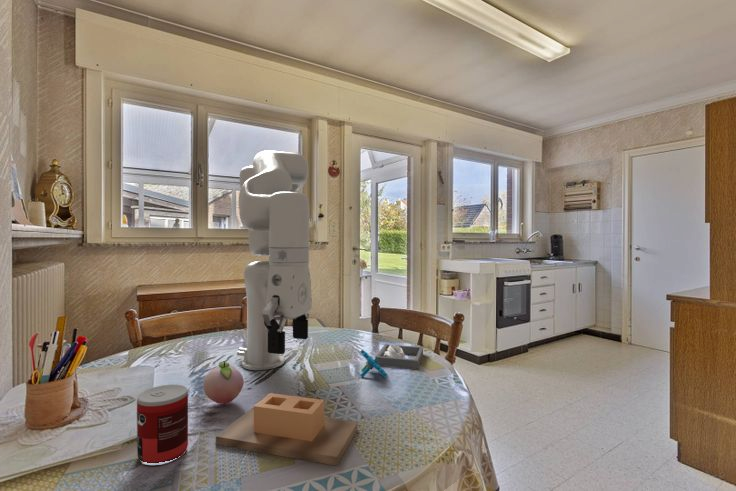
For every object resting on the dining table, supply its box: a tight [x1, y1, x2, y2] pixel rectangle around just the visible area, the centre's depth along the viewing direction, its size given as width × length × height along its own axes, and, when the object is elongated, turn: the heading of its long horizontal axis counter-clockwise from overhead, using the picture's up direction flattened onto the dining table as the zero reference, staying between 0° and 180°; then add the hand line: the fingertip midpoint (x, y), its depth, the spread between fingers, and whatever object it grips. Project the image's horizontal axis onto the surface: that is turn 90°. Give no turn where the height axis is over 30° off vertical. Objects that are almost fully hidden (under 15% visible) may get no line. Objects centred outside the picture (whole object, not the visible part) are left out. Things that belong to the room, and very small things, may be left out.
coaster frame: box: [374, 343, 424, 370], centre depth 114 cm, size 13×14×2 cm
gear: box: [359, 349, 388, 378], centre depth 101 cm, size 11×6×10 cm
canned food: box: [136, 384, 189, 463], centre depth 64 cm, size 8×8×11 cm
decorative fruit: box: [202, 361, 245, 405], centre depth 83 cm, size 9×8×10 cm
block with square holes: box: [253, 392, 325, 441], centre depth 70 cm, size 12×6×5 cm, turn 75°
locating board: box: [215, 406, 359, 467], centre depth 69 cm, size 24×12×5 cm, turn 75°
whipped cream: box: [383, 344, 406, 358], centre depth 115 cm, size 8×7×5 cm
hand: (289, 345), depth 69 cm, fingers open, 9 cm apart
